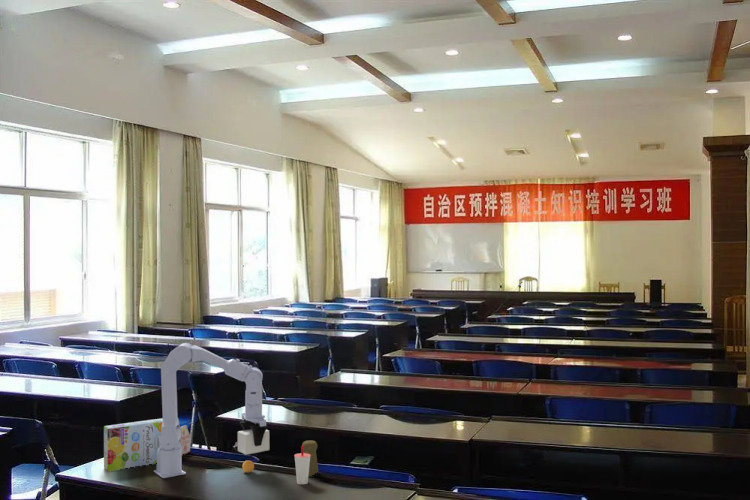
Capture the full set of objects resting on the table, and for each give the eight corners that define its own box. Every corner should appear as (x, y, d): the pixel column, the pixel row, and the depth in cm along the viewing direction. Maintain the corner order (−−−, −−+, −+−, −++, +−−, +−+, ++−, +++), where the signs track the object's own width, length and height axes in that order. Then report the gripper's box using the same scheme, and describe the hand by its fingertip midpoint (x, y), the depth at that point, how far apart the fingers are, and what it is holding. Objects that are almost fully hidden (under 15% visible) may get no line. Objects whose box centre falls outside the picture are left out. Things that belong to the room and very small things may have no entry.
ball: (250, 457, 237) (252, 468, 237) (239, 461, 234) (241, 472, 235) (254, 460, 233) (257, 471, 234) (243, 464, 231) (246, 475, 232)
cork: (315, 476, 229) (315, 443, 229) (298, 475, 230) (298, 442, 230) (320, 471, 235) (320, 439, 235) (303, 470, 236) (303, 438, 236)
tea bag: (171, 455, 254) (171, 428, 255) (181, 451, 261) (181, 424, 261) (179, 456, 253) (180, 429, 254) (190, 451, 260) (190, 425, 260)
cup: (295, 486, 219) (295, 448, 220) (292, 481, 225) (293, 444, 225) (312, 484, 221) (312, 447, 221) (309, 479, 226) (309, 443, 226)
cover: (237, 450, 235) (237, 431, 235) (261, 446, 241) (261, 427, 241) (245, 454, 230) (245, 435, 231) (269, 449, 236) (269, 430, 236)
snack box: (164, 458, 251) (164, 417, 251) (168, 462, 246) (169, 420, 246) (103, 468, 239) (103, 425, 239) (107, 472, 234) (107, 428, 234)
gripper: (274, 405, 232) (274, 446, 232) (254, 399, 244) (254, 437, 244) (255, 408, 228) (255, 449, 228) (236, 401, 240) (236, 440, 240)
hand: (253, 443), depth 236 cm, fingers closed on cover, 6 cm apart
